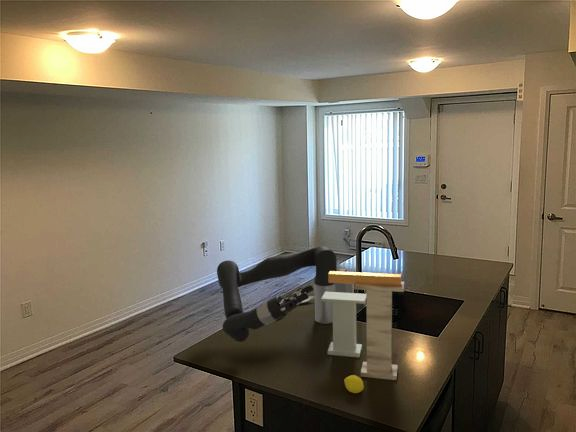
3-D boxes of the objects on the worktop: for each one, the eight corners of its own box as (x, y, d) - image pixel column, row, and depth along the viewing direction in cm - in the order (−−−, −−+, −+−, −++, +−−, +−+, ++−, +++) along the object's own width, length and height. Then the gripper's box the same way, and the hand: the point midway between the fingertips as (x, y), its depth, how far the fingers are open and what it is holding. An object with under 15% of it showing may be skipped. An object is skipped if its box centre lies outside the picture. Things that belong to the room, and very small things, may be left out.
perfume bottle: (340, 302, 235) (339, 267, 232) (352, 305, 231) (352, 269, 228) (333, 306, 229) (332, 270, 226) (345, 309, 225) (345, 272, 222)
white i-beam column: (326, 344, 188) (325, 291, 184) (367, 348, 184) (366, 293, 180) (322, 354, 181) (321, 298, 177) (364, 357, 176) (364, 301, 173)
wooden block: (330, 279, 166) (330, 271, 165) (401, 283, 160) (401, 274, 159) (328, 282, 163) (328, 273, 162) (400, 286, 157) (400, 277, 156)
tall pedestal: (357, 364, 171) (356, 279, 166) (403, 369, 167) (404, 281, 162) (354, 375, 164) (353, 286, 158) (402, 380, 159) (403, 288, 154)
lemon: (366, 392, 154) (368, 377, 153) (357, 399, 150) (359, 384, 149) (348, 383, 158) (350, 368, 157) (339, 390, 154) (340, 375, 153)
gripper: (282, 312, 179) (319, 293, 174) (271, 327, 165) (311, 307, 160) (272, 294, 178) (308, 275, 173) (260, 308, 165) (299, 288, 160)
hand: (309, 291), depth 167 cm, fingers open, 8 cm apart
